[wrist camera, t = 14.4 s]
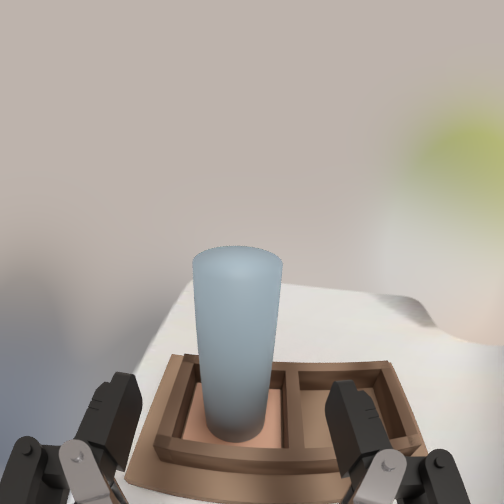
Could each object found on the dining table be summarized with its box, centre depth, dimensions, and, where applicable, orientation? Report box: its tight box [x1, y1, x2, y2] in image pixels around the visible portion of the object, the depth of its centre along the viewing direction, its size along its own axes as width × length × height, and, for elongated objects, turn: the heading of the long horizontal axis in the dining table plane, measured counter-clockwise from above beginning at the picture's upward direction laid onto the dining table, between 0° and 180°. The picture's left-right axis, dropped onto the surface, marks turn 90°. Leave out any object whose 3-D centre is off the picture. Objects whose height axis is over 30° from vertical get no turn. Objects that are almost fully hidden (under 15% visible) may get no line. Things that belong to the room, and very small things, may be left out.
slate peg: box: [193, 246, 283, 443], centre depth 16 cm, size 4×4×13 cm
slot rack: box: [124, 354, 428, 504], centre depth 18 cm, size 22×14×4 cm, turn 87°
